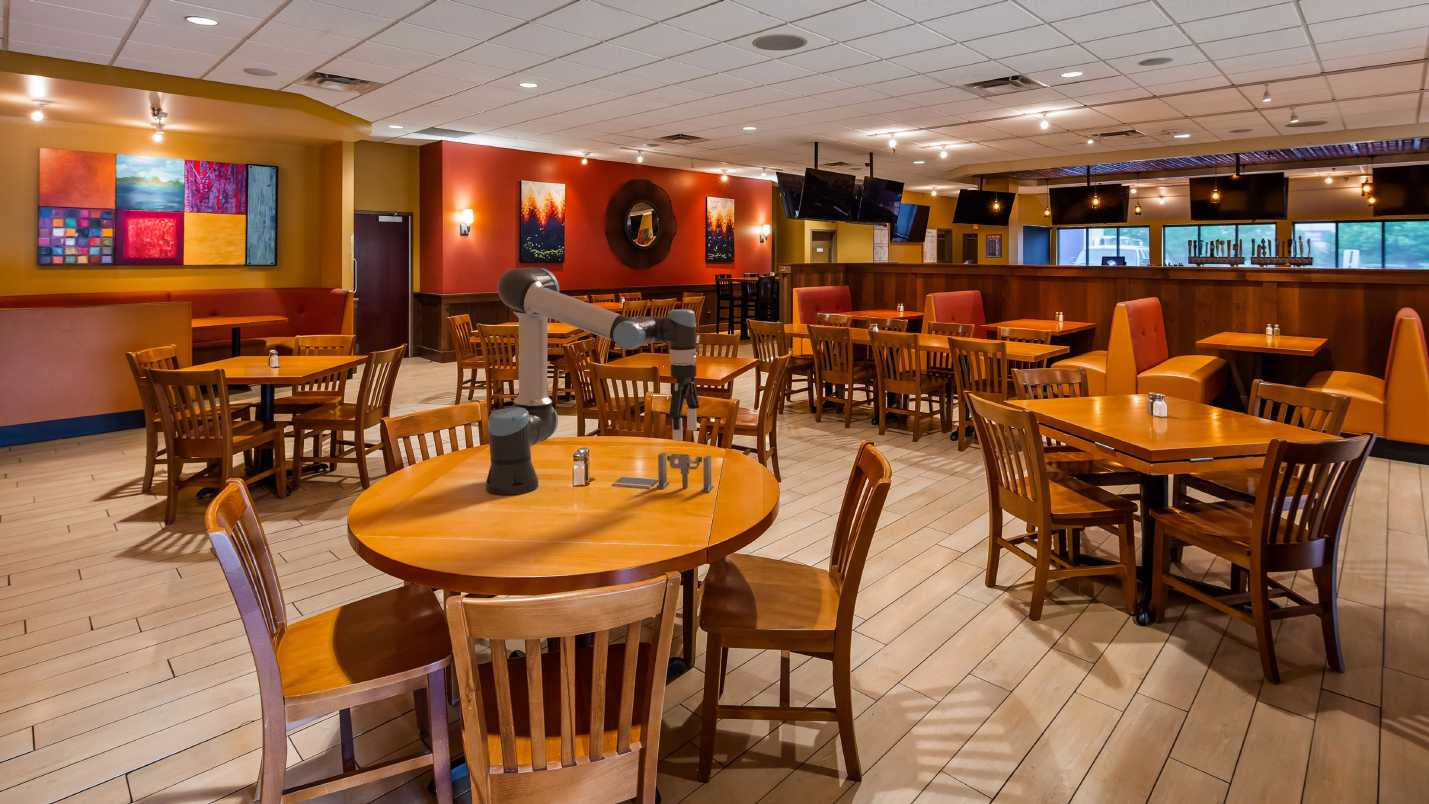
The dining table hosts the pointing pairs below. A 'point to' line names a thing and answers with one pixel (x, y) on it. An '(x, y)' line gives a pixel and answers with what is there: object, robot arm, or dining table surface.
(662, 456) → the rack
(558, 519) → the dining table surface
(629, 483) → the mat
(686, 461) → the mechanical component
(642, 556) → the dining table surface
